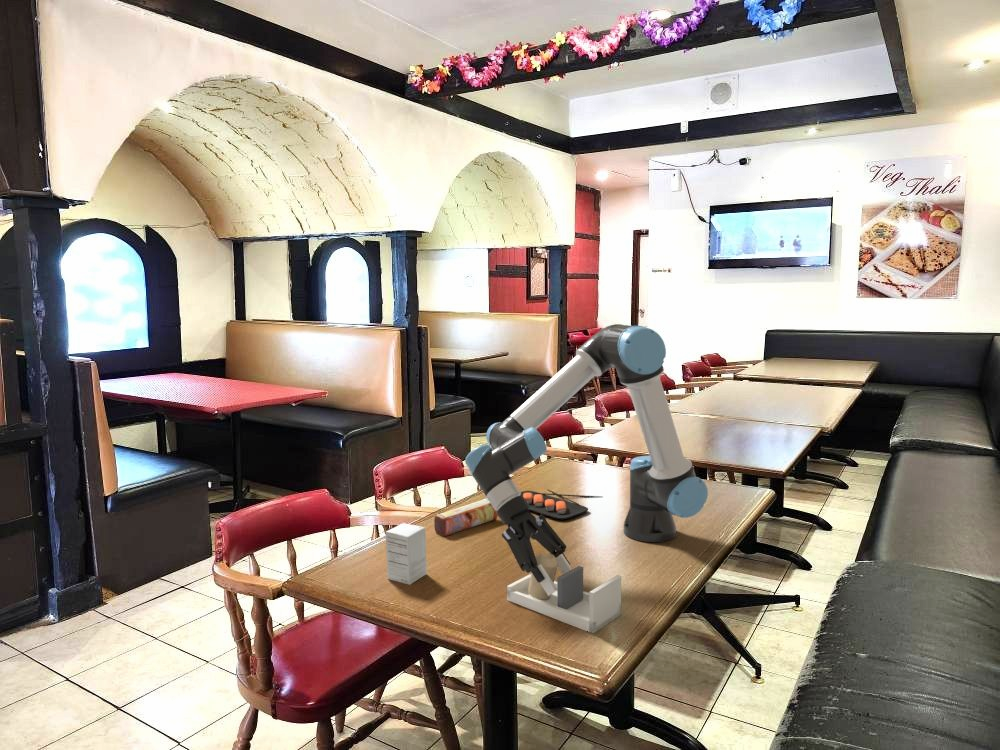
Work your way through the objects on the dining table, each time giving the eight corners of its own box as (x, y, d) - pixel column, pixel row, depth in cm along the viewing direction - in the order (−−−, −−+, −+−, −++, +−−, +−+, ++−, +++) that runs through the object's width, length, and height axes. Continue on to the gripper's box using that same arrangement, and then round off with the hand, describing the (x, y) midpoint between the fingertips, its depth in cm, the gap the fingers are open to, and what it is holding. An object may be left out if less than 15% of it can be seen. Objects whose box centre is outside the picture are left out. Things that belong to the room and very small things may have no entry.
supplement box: (404, 568, 178) (403, 522, 176) (427, 574, 174) (426, 527, 172) (386, 579, 172) (384, 531, 170) (409, 585, 168) (408, 536, 166)
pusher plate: (578, 597, 157) (578, 565, 156) (583, 599, 156) (583, 567, 155) (557, 610, 151) (557, 577, 150) (561, 612, 150) (561, 578, 149)
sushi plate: (498, 504, 231) (498, 493, 231) (558, 485, 251) (558, 475, 251) (561, 525, 210) (561, 513, 210) (621, 503, 230) (621, 492, 230)
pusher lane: (536, 584, 167) (536, 549, 166) (620, 614, 152) (621, 576, 150) (507, 600, 159) (506, 563, 158) (593, 633, 143) (593, 593, 142)
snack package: (445, 538, 199) (445, 516, 198) (432, 532, 204) (431, 511, 203) (499, 521, 213) (499, 500, 212) (485, 516, 218) (485, 495, 217)
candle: (549, 588, 162) (558, 550, 160) (551, 601, 156) (560, 562, 154) (527, 585, 162) (535, 547, 159) (528, 598, 156) (536, 559, 154)
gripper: (527, 501, 173) (579, 580, 164) (471, 522, 158) (526, 610, 149) (543, 485, 168) (598, 564, 160) (488, 505, 153) (545, 594, 145)
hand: (563, 586), depth 154 cm, fingers open, 7 cm apart
